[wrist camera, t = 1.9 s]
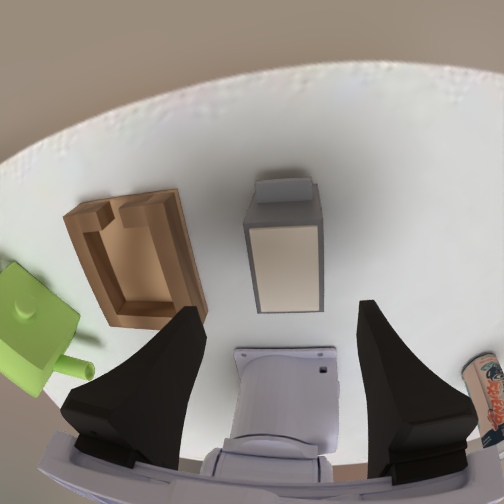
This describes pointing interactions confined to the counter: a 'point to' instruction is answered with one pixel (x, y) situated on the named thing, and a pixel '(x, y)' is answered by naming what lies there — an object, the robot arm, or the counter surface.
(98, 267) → the pocket block
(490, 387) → the beer can
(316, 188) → the block
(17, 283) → the gearbox
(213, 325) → the counter surface
